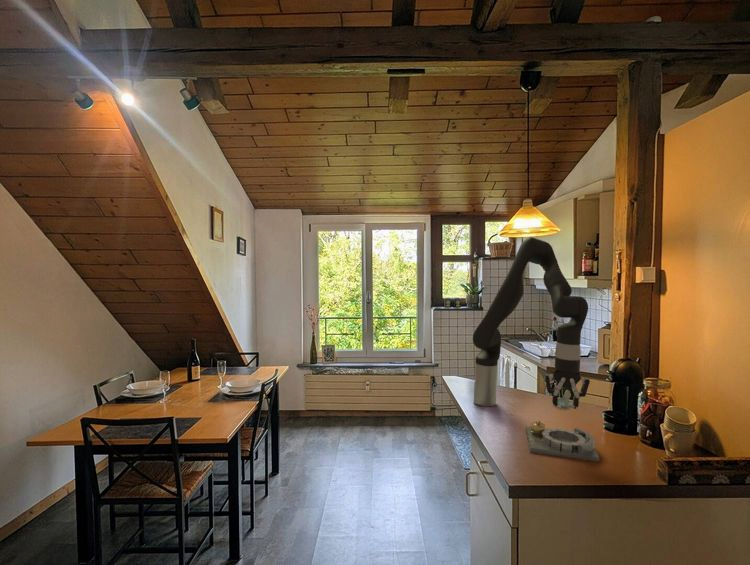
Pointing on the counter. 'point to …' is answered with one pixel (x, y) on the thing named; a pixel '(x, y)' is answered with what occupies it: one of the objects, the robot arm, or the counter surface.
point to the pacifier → (564, 402)
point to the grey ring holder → (561, 442)
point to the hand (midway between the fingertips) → (565, 406)
